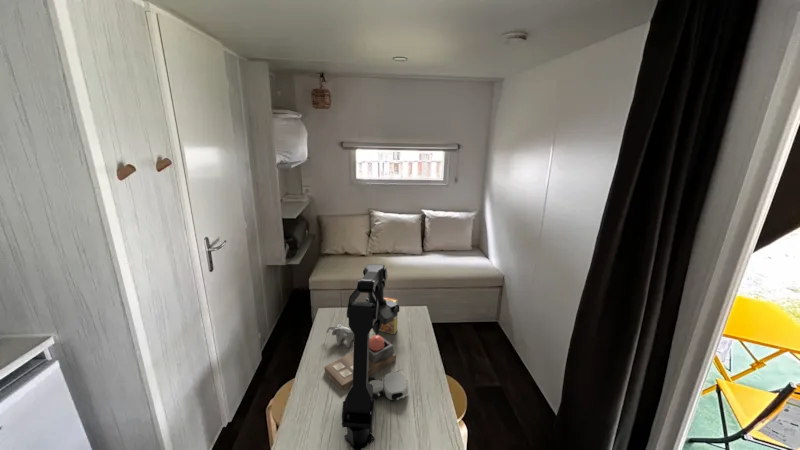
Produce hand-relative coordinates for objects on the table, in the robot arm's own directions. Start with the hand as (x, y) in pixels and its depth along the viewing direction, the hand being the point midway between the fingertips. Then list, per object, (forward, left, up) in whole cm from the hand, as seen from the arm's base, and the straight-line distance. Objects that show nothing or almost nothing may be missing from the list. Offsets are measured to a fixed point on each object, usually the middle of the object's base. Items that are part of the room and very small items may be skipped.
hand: (376, 333), depth 127 cm
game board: (-7, +1, -11) cm, 13 cm away
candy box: (+15, +12, -12) cm, 22 cm away
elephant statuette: (-5, +18, -12) cm, 22 cm away
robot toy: (-8, -15, -12) cm, 21 cm away
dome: (0, 0, -7) cm, 7 cm away
